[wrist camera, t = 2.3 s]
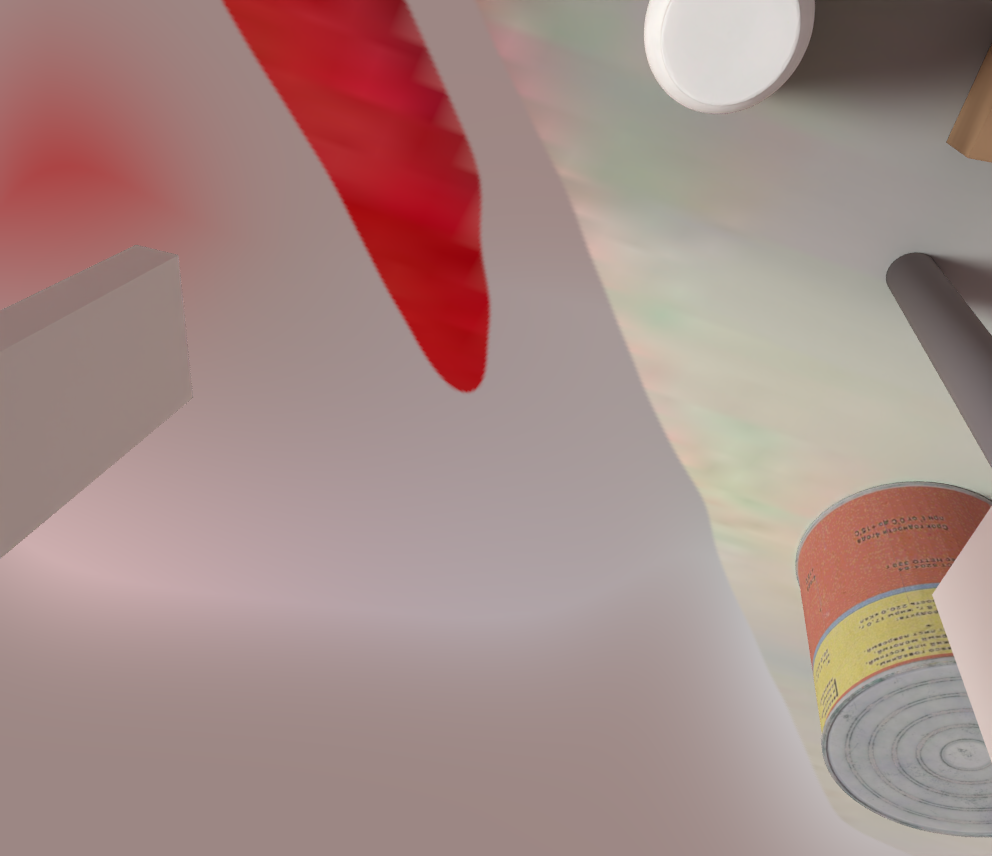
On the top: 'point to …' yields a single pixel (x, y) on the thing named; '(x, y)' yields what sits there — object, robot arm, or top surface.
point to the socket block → (976, 117)
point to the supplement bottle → (725, 49)
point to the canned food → (895, 656)
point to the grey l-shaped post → (948, 339)
